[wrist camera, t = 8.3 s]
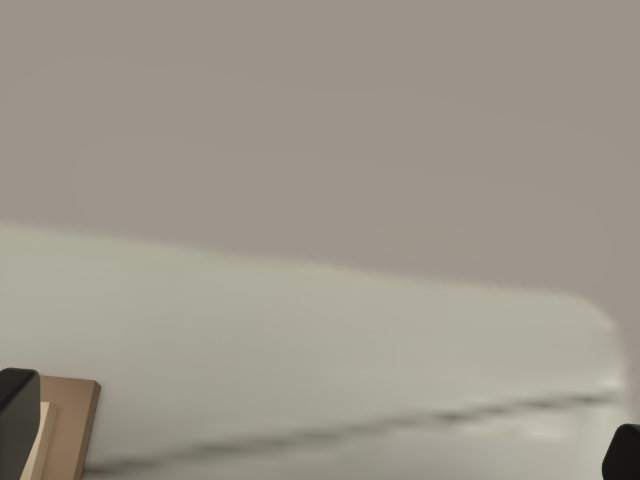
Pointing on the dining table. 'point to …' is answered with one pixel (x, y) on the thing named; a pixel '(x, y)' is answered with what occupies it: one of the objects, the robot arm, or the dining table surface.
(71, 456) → the stand
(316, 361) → the dining table surface
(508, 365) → the dining table surface
